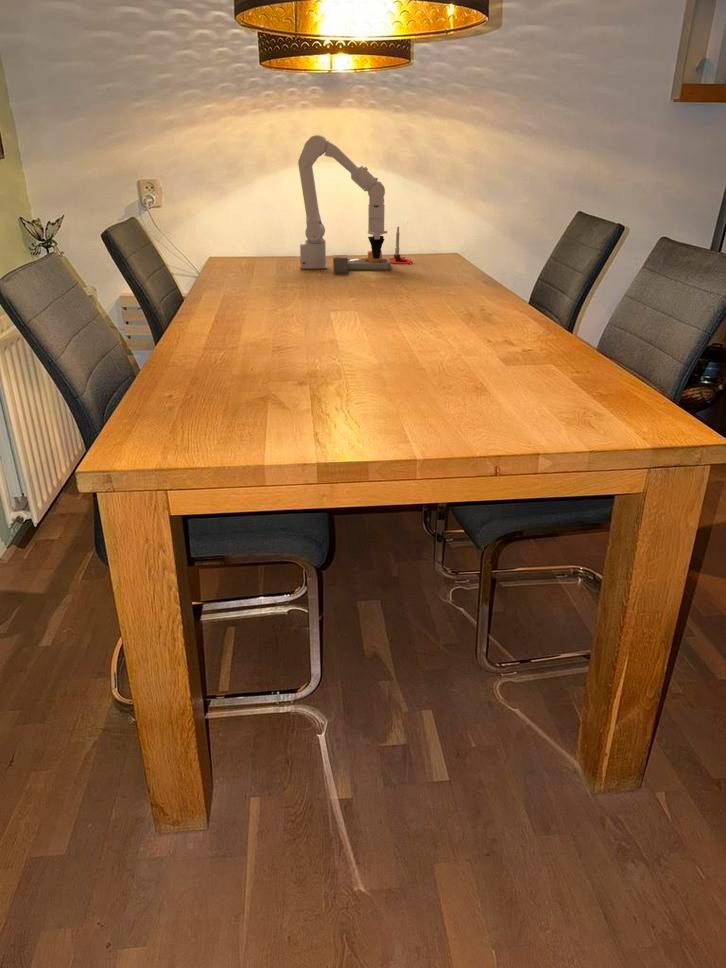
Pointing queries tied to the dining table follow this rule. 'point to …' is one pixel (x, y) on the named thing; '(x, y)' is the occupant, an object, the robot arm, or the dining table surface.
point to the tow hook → (397, 255)
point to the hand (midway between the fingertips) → (376, 257)
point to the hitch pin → (368, 259)
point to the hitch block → (340, 264)
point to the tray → (370, 265)
